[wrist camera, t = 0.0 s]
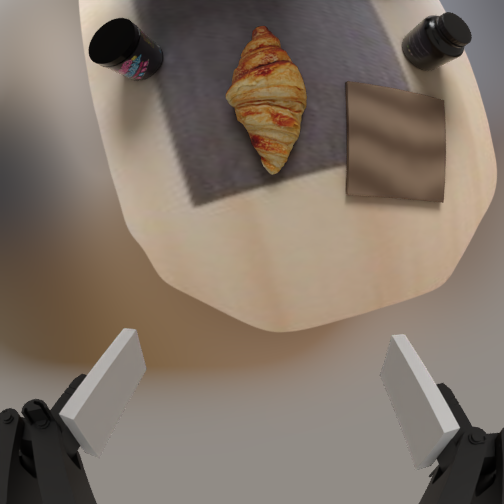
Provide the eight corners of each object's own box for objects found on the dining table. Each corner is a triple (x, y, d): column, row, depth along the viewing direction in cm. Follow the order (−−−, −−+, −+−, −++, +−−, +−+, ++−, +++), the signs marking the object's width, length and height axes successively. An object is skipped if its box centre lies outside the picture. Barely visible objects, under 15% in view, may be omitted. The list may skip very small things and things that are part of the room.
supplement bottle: (424, 32, 28) (461, 6, 17) (443, 68, 30) (486, 50, 18) (392, 36, 29) (426, 5, 18) (412, 74, 31) (454, 52, 20)
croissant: (293, 170, 41) (327, 172, 34) (228, 178, 37) (254, 180, 30) (278, 40, 34) (308, 20, 27) (214, 35, 30) (235, 9, 23)
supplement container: (117, 71, 34) (79, 54, 24) (143, 37, 32) (112, 12, 22) (145, 89, 35) (110, 72, 25) (173, 53, 33) (145, 27, 23)
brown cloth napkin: (345, 83, 33) (347, 81, 32) (439, 101, 32) (443, 100, 31) (345, 193, 38) (348, 195, 37) (439, 201, 37) (443, 202, 36)
